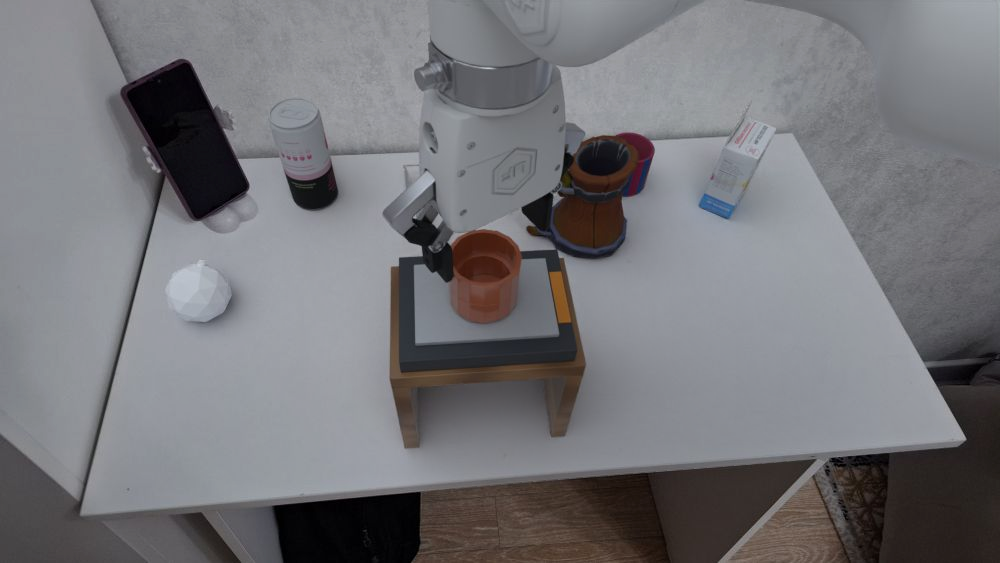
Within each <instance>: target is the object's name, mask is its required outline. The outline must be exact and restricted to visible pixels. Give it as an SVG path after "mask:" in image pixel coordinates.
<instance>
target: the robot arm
mask: <svg viewBox="0 0 1000 563" xmlns="http://www.w3.org/2000/svg"><path fill="white" fill-rule="evenodd" d="M744 1H745V2H752V3H758V4H764V5H769V6H775V7H779V8H781V7H782V8H785V9H791V10H795V11H799V12H803V13H807V14H810V15H812V16H813V15H814V16H816V17H819V18H823V19H824V20H827V21H829V22H831V23H833V24H835V25H836V26H837V25H838V26H839V27H841V28H842V29H844V30H845V31H847V32H849V33H850V34H851V35H853V37H854V38H856V39H857V40H858V41H859V42H860V43H861V45H862V46H863V47H864V49H865V50H866V52H867V53H868V55H869V57H870V59H871V61H872V64H873V67H874V71H875V72H874V102H875V106H876V109H877V114H878V117H879V119H880V120H881V122H882V124H883V125H884V127H885V128H886V129H887V130H886V131H888V132H889V133H890V134H891V135H893V136H894V137H895V138H896V139H897V140H899V141H901V142H903V143H905V144H908V145H910V146H912V147H916V148H918V149H922V150H925V151H929V152H932V153H936V154H940V155H944V156H948V157H951V158H956V159H959V160H963V161H966V162H971V163H974V164H977V165H981V166H985V167H988V168H991V169H995V170H999V171H1000V0H744ZM426 2H427V14H428V17H427V18H428V28H429V29H428V30H429V42H428V43H427V50H428V60H427V62H425V63H424V65H423V66H420V67H417V68H415V69H414V71H413V77H414V82H415V83H416V85H417V87H418V89H419V90H420V91H421V92H423V97H422V103H421V111H420V120H419V132H418V134H419V135H418V165H419V166H418V170H419V177H418V178H416V179H415V180H414V181H413V182H411V183H412V184H411V185H410V186H409V187H408V188H407V189H406V188H405V190H403V192H401V193H400V194H399V195H398V196H397V197H396V198H394V199H393V201H392V202H390V203H389V205H387V206H386V207H385V208H384V210H382V212H381V213H382V214H381V215H382V218H384V220H385V221H386V223H388V224H389V226H390V227H391V228H392V230H394V231H395V232H396V233H398V235H400V236H401V237H403V238H404V239H405V240H406V241H407V242H408V243H409V244H412V245H416V246H421V254H422V255H421V256H423V261H424V263H425V265H426V267H427V268H428V269H429V270H430V272H431V273H434V272H437V273H438V274H439V275H440V276H441V278H442V279H443V280H444V281H445V282H446V283H448V282H450V281H452V280H453V278H454V269H453V250H452V247H451V246H450V245H451V244H450V243H449V241H450V239H451V237H452V236H453V234H465V233H467V232H470V231H473V230H479V229H481V228H483V227H485V226H487V225H489V224H491V223H493V222H494V221H497V220H499V219H501V218H503V217H506V216H507V215H509V214H512V213H513V212H515V211H517V210H519V209H520V210H521V213H522V214H523V215H524V217H525V218H527V219H528V220H529V222H531V224H533V225H534V227H535V226H536V227H537V228H538V229H539V230H540V231H543V232H544V231H546V230H548V229H549V228H550V221H551V214H552V207H553V206H554V198H555V197H554V195H555V194H558V193H557V192H558V191H559V190H560V189H561V187H562V182H561V181H560V179H561V178H562V177H563V176H564V174H565V173H566V172H567V170H569V168H570V167H571V166H572V164H573V162H574V157H573V155H574V153H576V152H577V150H578V148H579V146H580V145H581V143H582V142H583V141H584V140H585V137H586V132H585V130H583V128H581V127H579V125H577V124H576V123H574V122H566V102H565V101H566V99H565V93H564V85H563V79H562V72H561V70H560V69H559V67H560V68H561V67H562V68H580V67H584V66H589V65H593V64H594V63H597V62H599V61H601V60H604V59H605V58H607V57H609V56H611V55H613V54H615V53H616V52H618V51H620V50H622V49H624V48H626V47H627V46H628V45H630V44H632V43H634V42H636V41H638V40H639V39H641V38H643V37H645V36H646V35H648V34H650V33H652V32H653V31H655V30H656V29H658V28H660V27H661V26H663V25H665V24H667V23H668V22H670V21H672V20H673V19H675V18H677V17H679V16H681V15H683V14H685V13H687V12H688V11H690V10H691V9H693V8H695V7H697V6H699V5H701V4H703V3H705V2H707V0H426ZM420 210H421V212H420V214H419V215H418V217H417V219H416V214H417V213H418V212H419V211H420ZM437 216H440V217H441V219H442V221H441V222H440V224H439V225H438V227H436V225H435V224H434V222H435V220H436V218H437ZM414 217H415V218H414Z"/></svg>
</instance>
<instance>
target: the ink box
mask: <svg viewBox="0 0 1000 563" xmlns="http://www.w3.org/2000/svg"><path fill="white" fill-rule="evenodd" d="M753 101H754V99H753V98H752V99H750V101H749V102H748V104H747V105H746V107H745V108H744V109H743V111H742V113H741V115H740V116H739V118H738V119H737V120H736V122H735V124H734V125H733V127H732V129H731V131H730V134H729V136H728V138H727V139H726V142H725V144H724V146H723V148H722V150H721V153H720V155H719V157H718V159H717V162H716V164H715V167H714V169H713V171H712V174H711V176H710V179H709V181H708V183H707V186H706V189H705V191H704V193H703V195H702V197H701V200H700V202H699V204H698V207H699V208H701V209H704V210H706V211H709V212H711V213H713V214H716V215H718V216H721V217H723V218H725V219H726V220H729V219H730V218H731V216H732V214H733V212H734V210H735V209H736V207H737V206H738V204H739V202H740V200H741V199H742V197H743V196H744V195H745V193H746V191H747V189H748V187H749V185H750V183H751V181H752V178H753V177H754V175H755V173H756V171H757V169H758V167H759V164H760V163H761V161H762V159H763V157H764V156H765V153H766V152H767V149H768V147H769V145H770V143H771V141H772V140H773V138H774V135H775V133H776V131H777V127H775V126H772V125H770V124H766V123H765V122H762V121H759V120H757V119H754V118H752V117H749V116H747V114H748V111H749V109H750V107H751V105H752V103H753Z"/></svg>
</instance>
